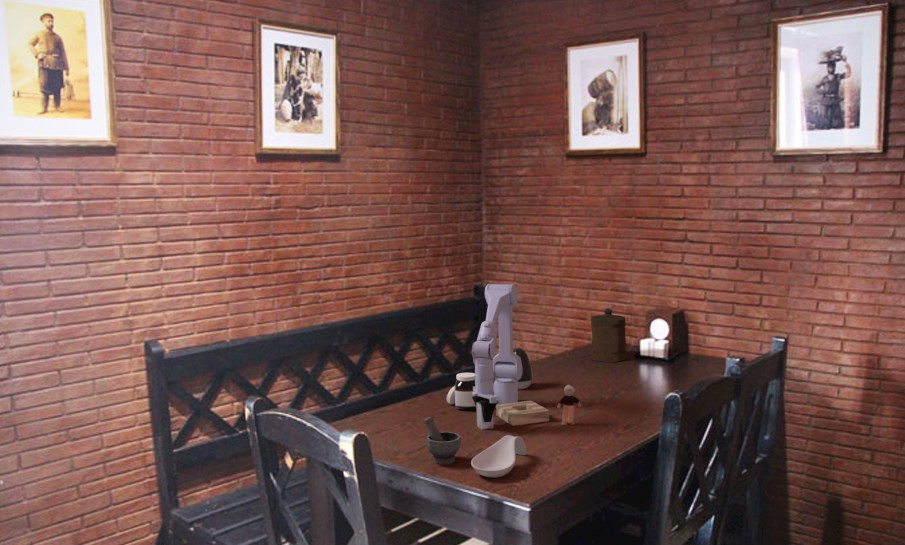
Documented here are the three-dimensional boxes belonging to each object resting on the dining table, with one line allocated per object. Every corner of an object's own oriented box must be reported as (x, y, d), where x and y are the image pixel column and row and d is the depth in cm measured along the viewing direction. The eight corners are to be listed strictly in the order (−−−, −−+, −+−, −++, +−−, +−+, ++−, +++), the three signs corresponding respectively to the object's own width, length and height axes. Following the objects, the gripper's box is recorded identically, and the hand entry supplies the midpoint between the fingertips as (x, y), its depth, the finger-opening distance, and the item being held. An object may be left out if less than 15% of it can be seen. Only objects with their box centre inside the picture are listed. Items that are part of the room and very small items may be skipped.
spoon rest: (504, 485, 208) (504, 458, 207) (463, 478, 214) (463, 452, 213) (538, 457, 229) (537, 432, 228) (500, 451, 234) (499, 427, 234)
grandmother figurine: (560, 426, 256) (560, 387, 254) (556, 423, 259) (555, 384, 258) (583, 424, 258) (583, 385, 256) (578, 420, 261) (578, 382, 260)
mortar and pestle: (467, 458, 228) (466, 417, 227) (449, 468, 220) (448, 426, 219) (434, 452, 234) (433, 411, 233) (416, 461, 226) (414, 420, 225)
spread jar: (475, 412, 274) (474, 378, 273) (442, 411, 276) (442, 377, 275) (481, 402, 286) (480, 370, 284) (450, 401, 288) (449, 369, 286)
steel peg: (477, 426, 258) (476, 401, 257) (488, 424, 259) (488, 400, 258) (481, 429, 254) (481, 405, 253) (493, 428, 256) (493, 403, 255)
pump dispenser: (532, 384, 310) (532, 345, 308) (532, 391, 299) (532, 351, 298) (506, 384, 311) (505, 345, 309) (505, 391, 300) (504, 351, 299)
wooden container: (606, 353, 361) (605, 304, 358) (632, 358, 349) (632, 308, 347) (583, 358, 351) (583, 308, 349) (610, 364, 340) (610, 312, 338)
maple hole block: (496, 415, 270) (496, 405, 269) (531, 410, 274) (531, 400, 274) (512, 425, 257) (512, 415, 257) (549, 420, 262) (549, 410, 262)
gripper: (464, 374, 260) (464, 415, 262) (481, 384, 247) (482, 427, 248) (484, 372, 263) (484, 412, 264) (502, 382, 249) (503, 424, 251)
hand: (485, 419), depth 257 cm, fingers closed on steel peg, 4 cm apart
